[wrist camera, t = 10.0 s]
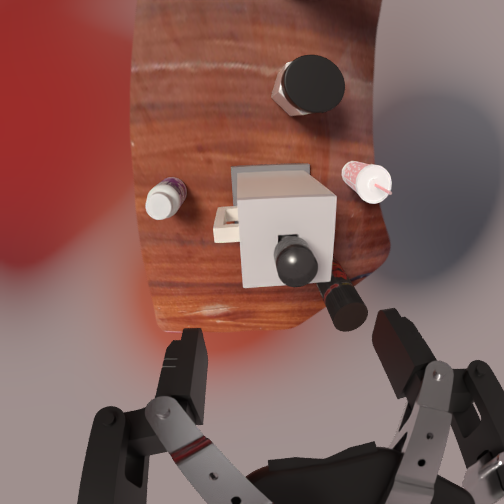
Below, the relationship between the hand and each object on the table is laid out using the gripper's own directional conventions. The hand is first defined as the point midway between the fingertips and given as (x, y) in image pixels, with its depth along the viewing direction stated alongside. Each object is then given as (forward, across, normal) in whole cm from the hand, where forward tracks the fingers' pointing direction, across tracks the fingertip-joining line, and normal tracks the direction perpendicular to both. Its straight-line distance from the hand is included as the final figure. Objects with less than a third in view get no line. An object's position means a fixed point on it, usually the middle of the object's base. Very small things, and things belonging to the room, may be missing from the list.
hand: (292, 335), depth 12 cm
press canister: (+39, -2, +6) cm, 39 cm away
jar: (+40, -8, -13) cm, 42 cm away
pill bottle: (+39, +14, +3) cm, 42 cm away
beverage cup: (+39, -18, +2) cm, 43 cm away
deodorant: (+39, -14, +21) cm, 46 cm away
